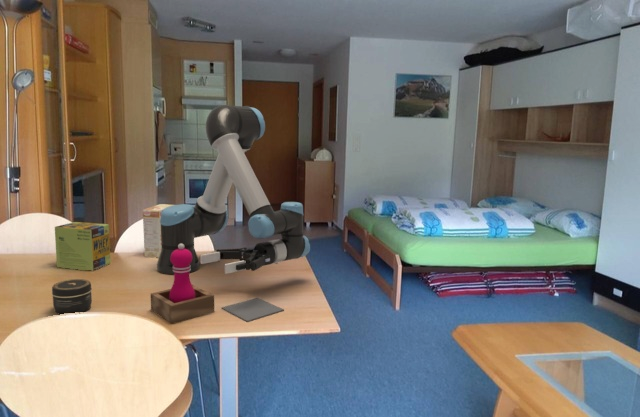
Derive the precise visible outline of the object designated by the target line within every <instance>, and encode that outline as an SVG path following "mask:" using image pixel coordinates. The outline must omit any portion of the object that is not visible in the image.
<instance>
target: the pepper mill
mask: <svg viewBox="0 0 640 417" xmlns="http://www.w3.org/2000/svg"><path fill="white" fill-rule="evenodd" d="M178 248H179V249H176V250H175V251H173V252H172V254H171V257H170V260H171V263H172V264H173V265H174V266H173V272H174V274H173V275H174V277H173V284H172V285H171V288H170V289H171V290H170V294H169V300H170V301H171V302H173V303H178V302H182V301H186V300H190V299H194V298H195V291H194V288H193V286H192V285H193V284H192V282H191V278H190V273H189V271H190V270H191V268H190V267H191V265H189V264H190V263H191V262H192V254H191V252H190V251H189V250H187V249H184V244H182V243H181V244H179V245H178Z"/></svg>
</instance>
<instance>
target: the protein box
mask: <svg viewBox="0 0 640 417" xmlns="http://www.w3.org/2000/svg"><path fill="white" fill-rule="evenodd" d="M109 224H110V223H109ZM109 224H108V223H107V224H106V223H95V222H94V223H93V222H81V221H80V222H79V221H73V222H69V223H65V224H61V225H56V226H54V236H55V237H54V238H55V256H56V268H57V267H63V268H62V269H65V268H70V269H69V270H75V269H78V271H79V270H80V271H85V270H92V271H91V272H94V270H95V271H97V270H99V269H101V268H100V267H102V268H104V267H106V266H105V265H107V266H109V265H111V264H110V263H111V261H112V260H111V245H110V243H111V242H110V240H111V238H110V225H109ZM108 264H109V265H108ZM103 266H104V267H103ZM98 268H99V269H98ZM96 269H97V270H96Z"/></svg>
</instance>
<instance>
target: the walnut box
mask: <svg viewBox="0 0 640 417" xmlns="http://www.w3.org/2000/svg"><path fill="white" fill-rule="evenodd" d="M192 286H193V288H194V291H195V298H194V299H190V300H186V301H182V302H178V303H173V302H171V301H170V300H169V294H170V290H171V288H170V289H163V290H160V291H155V292H151V293H150V310H151V311H152V312H153V313H155V314H157V315H158V316H160V317H161V318H163V319H165V321H167V322H168V323H170V324H172V325H174V324H176V323H181V322H183V321H187V320H191V319H195V318H199V317H202V316H205V315H208V314H209V315H210V314H212V313H215V295H214V294H212V293H210V292H209V291H206V290H204V289H202V288H199V287H198V286H196V285H194V284H192Z"/></svg>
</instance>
